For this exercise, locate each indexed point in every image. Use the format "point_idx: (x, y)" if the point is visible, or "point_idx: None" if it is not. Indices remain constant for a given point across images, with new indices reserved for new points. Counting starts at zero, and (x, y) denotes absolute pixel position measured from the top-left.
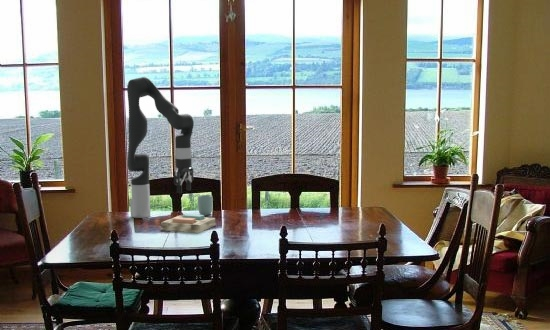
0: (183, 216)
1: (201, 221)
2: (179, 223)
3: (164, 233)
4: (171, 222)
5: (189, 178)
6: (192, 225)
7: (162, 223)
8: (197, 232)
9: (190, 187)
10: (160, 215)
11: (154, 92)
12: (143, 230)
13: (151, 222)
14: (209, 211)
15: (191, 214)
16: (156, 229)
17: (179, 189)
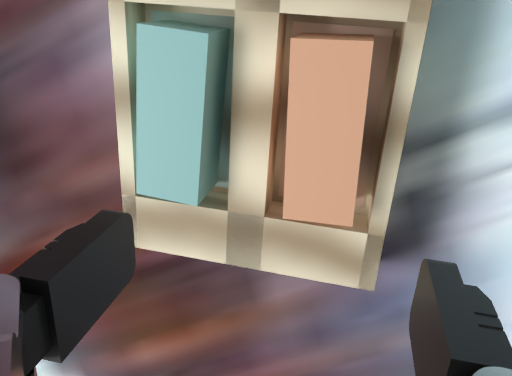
0: (202, 191)
1: None
2: (392, 146)
3: (485, 204)
4: (339, 226)
5: (16, 360)
6: (430, 6)
7: (376, 276)
8: None
9: (98, 229)
10: (44, 369)
11: None
12: (410, 350)
13: (203, 366)
14: None
15: (152, 144)
16: None
17: (502, 329)
